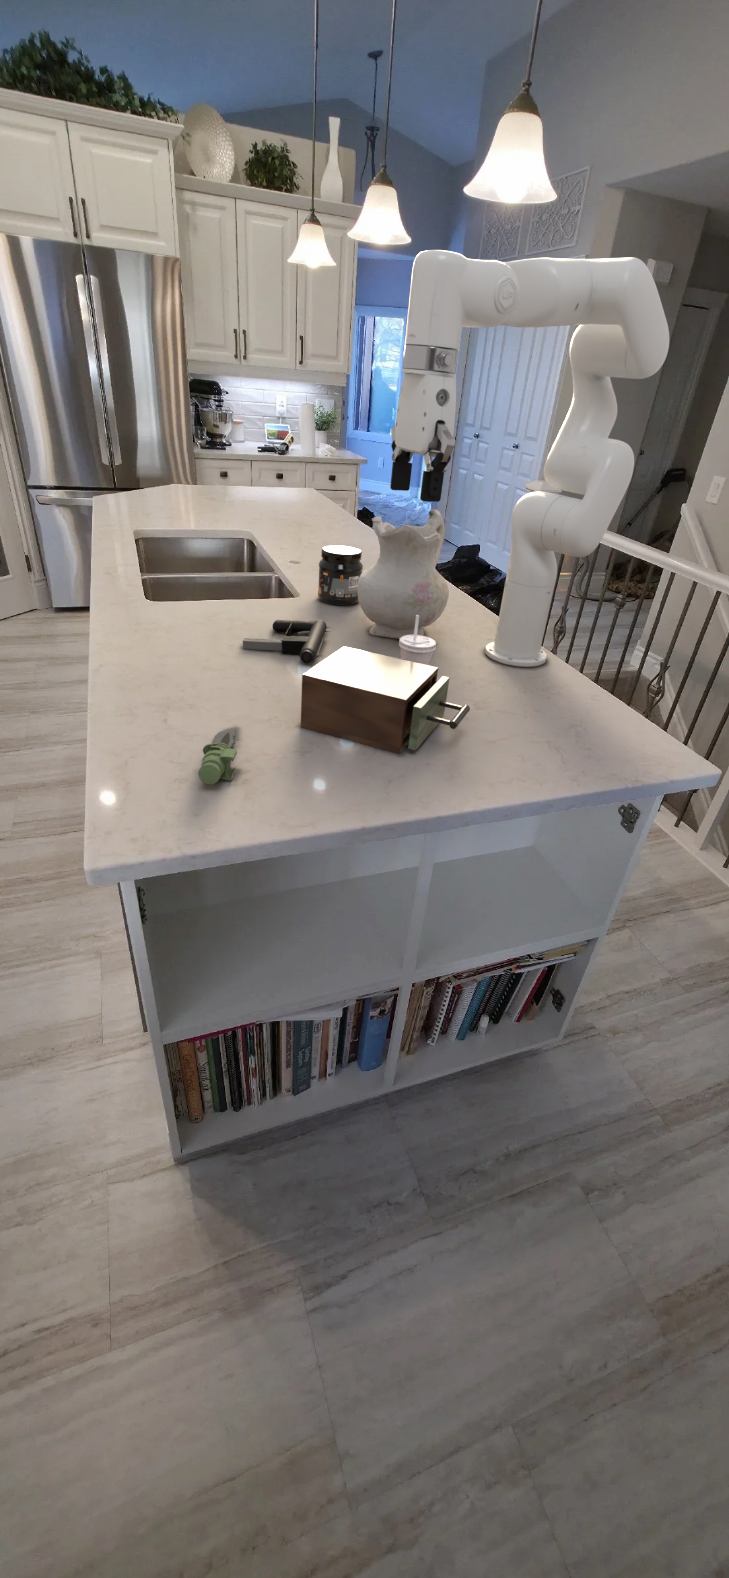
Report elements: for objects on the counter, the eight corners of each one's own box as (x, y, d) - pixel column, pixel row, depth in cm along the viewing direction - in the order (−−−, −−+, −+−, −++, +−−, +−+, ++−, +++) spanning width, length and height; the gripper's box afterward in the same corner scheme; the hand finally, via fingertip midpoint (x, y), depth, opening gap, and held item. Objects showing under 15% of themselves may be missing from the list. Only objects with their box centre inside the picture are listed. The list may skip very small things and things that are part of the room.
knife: (190, 758, 86) (229, 763, 86) (217, 714, 103) (250, 718, 103) (188, 786, 87) (227, 791, 88) (215, 738, 104) (248, 742, 105)
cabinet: (431, 717, 113) (438, 667, 108) (399, 754, 101) (406, 700, 96) (340, 694, 118) (343, 646, 113) (300, 726, 106) (301, 674, 102)
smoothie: (391, 685, 123) (399, 609, 116) (426, 686, 124) (436, 610, 117) (396, 699, 118) (404, 621, 110) (432, 700, 118) (443, 622, 111)
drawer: (471, 723, 110) (478, 684, 106) (446, 758, 99) (453, 716, 95) (357, 694, 116) (360, 656, 112) (321, 725, 105) (323, 683, 102)
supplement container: (323, 591, 171) (325, 542, 164) (364, 597, 169) (367, 547, 163) (312, 603, 162) (314, 551, 156) (355, 609, 161) (359, 557, 154)
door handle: (235, 647, 127) (320, 650, 126) (257, 615, 144) (332, 618, 143) (236, 664, 128) (320, 667, 128) (258, 630, 146) (332, 633, 145)
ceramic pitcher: (384, 615, 162) (386, 503, 149) (462, 625, 154) (471, 508, 142) (342, 640, 145) (340, 516, 133) (426, 653, 138) (433, 523, 125)
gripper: (486, 368, 90) (465, 506, 98) (423, 365, 103) (409, 487, 111) (437, 362, 87) (420, 505, 95) (379, 359, 100) (368, 485, 108)
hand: (414, 495), depth 103 cm, fingers open, 9 cm apart
